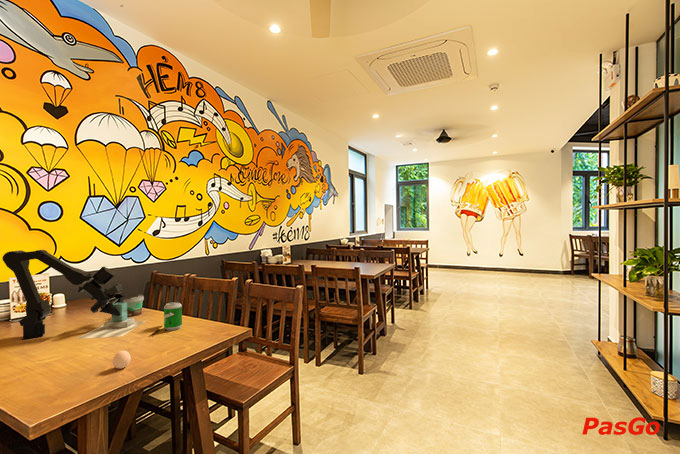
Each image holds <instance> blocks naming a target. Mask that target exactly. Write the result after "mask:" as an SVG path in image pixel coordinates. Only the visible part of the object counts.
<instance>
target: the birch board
mask: <svg viewBox="0 0 680 454" xmlns="http://www.w3.org/2000/svg"><path fill="white" fill-rule="evenodd" d="M134 322H135V323H134V324H132V325H130V326H129V327H123V328H104V324H102V325H100V326H97V327H96V328H94V329H92V330H90V331H88V332H86V333H84V334H83V335H81V336H78V337H77V338H76V339H77V340H81V339H84V340H85V339H102V338H119V337H124V336H125V335H127V334H128V333H130V332H131V331H133V330H134V329H136V328H137V327H139V326H141V325H142V324H144V323H145V322H147V320H139V321H135V320H134Z"/></svg>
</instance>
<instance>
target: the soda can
mask: <svg viewBox="0 0 680 454" xmlns="http://www.w3.org/2000/svg"><path fill="white" fill-rule="evenodd" d="M182 309H183V305H182V304H181V303H180V302H178V301H175V302H173V301H172V302H168V303H167V302H166V304H165V305H164V307H163V328H164V329H165V330H166V331H169V332H171V331H172V332H173V331H177V330H179V329H181V327H182V326H183V310H182Z"/></svg>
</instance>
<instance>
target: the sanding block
mask: <svg viewBox="0 0 680 454" xmlns="http://www.w3.org/2000/svg"><path fill="white" fill-rule="evenodd" d="M113 306H114V307H115V308H116V309H117V310H118V312H119V313H120V314H121V315H120V316H116V315H112V314H111V319H109V320H107V321H105V322H104V323H103V325H104V328H123V327H129V326H130V325H132V324H134V323H135V322H134V321H135V317H127V302H124V303H123V302H122V303H115V304H113Z"/></svg>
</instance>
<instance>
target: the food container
mask: <svg viewBox="0 0 680 454" xmlns="http://www.w3.org/2000/svg"><path fill="white" fill-rule="evenodd" d="M144 300H145V296H144V295H143V294H137V296H135V297H134V296H133V297H130V298H124V299H122V303H124V302H127V318H134V317H137V316H140V315H142V312H143V301H144Z"/></svg>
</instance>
